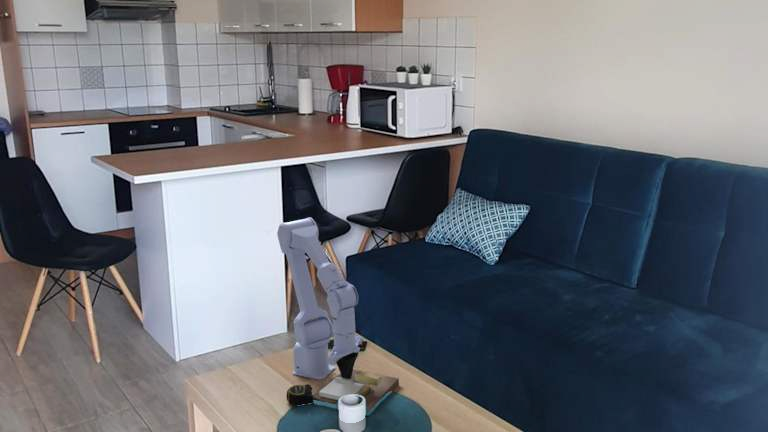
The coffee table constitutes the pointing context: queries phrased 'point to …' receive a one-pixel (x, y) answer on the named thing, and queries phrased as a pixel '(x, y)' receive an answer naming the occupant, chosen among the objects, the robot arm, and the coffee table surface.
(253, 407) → the coffee table surface
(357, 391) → the lid
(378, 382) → the t-key
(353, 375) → the lock board
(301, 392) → the tape measure
